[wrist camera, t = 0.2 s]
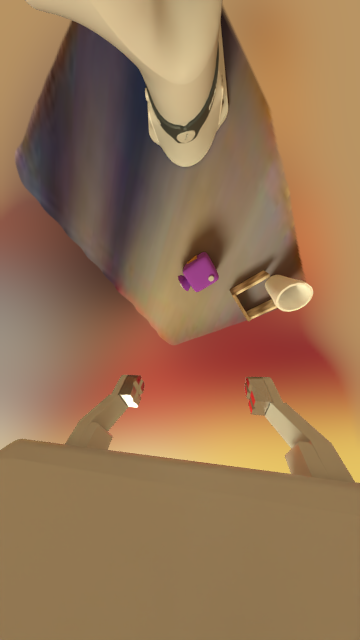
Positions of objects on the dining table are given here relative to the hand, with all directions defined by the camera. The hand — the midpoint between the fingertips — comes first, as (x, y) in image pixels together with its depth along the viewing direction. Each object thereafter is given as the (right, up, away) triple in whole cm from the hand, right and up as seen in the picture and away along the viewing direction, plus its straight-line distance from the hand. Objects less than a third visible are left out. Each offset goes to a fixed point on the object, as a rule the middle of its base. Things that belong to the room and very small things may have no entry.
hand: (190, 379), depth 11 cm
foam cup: (+35, +19, +41) cm, 57 cm away
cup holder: (+29, +15, +44) cm, 55 cm away
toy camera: (+6, +23, +42) cm, 48 cm away
